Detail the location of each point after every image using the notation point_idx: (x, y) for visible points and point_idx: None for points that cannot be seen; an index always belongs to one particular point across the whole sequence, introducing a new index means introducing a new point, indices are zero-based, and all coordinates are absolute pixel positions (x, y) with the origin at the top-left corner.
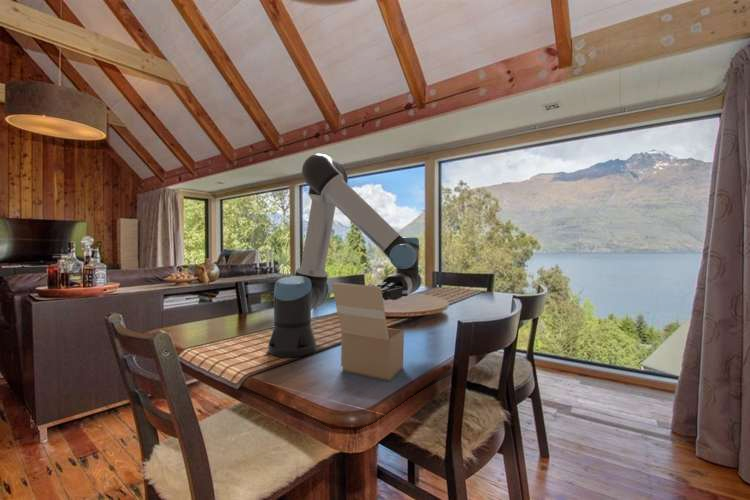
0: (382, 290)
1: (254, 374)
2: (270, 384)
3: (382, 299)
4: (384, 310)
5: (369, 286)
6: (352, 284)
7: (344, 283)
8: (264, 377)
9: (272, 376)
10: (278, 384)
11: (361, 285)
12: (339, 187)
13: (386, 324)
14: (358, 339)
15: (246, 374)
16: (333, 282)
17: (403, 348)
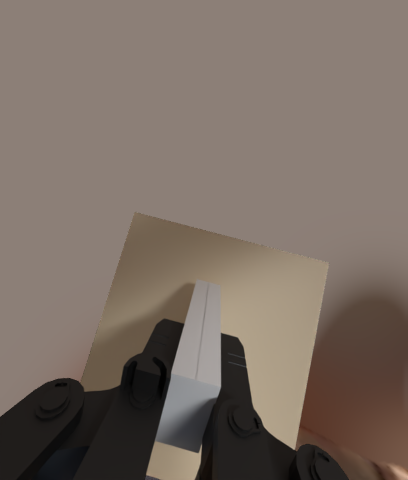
0: (97, 434)
1: (379, 471)
2: (308, 429)
3: (120, 260)
4: (104, 308)
5: (176, 223)
6: (243, 240)
7: (278, 250)
8: (349, 460)
9: (345, 473)
10: (298, 433)
11: (207, 231)
12: None
13: (83, 374)
14: None
15: (387, 465)
16: (326, 262)
17: None
